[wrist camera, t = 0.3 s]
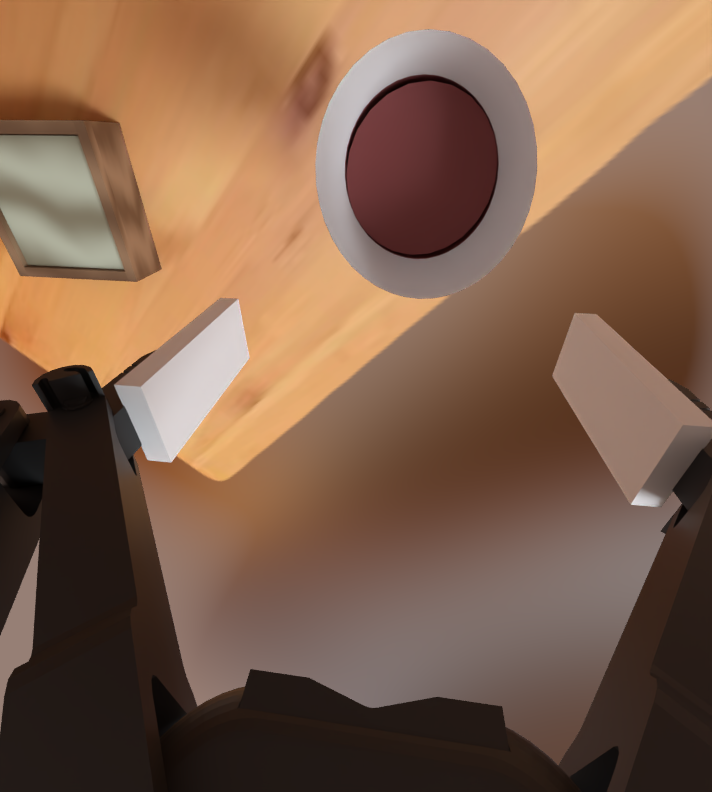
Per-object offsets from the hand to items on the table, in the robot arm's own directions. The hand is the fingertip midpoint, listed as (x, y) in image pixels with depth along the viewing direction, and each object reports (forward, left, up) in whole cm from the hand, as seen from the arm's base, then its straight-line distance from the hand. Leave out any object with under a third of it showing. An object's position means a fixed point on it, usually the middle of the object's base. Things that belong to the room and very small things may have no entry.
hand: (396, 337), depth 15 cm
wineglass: (-5, +1, -28) cm, 28 cm away
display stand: (-1, -35, -28) cm, 45 cm away
